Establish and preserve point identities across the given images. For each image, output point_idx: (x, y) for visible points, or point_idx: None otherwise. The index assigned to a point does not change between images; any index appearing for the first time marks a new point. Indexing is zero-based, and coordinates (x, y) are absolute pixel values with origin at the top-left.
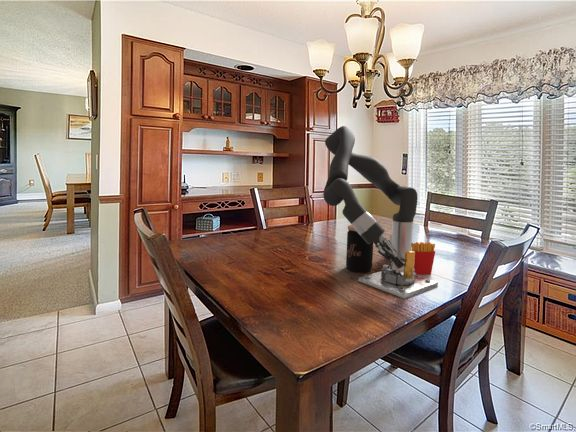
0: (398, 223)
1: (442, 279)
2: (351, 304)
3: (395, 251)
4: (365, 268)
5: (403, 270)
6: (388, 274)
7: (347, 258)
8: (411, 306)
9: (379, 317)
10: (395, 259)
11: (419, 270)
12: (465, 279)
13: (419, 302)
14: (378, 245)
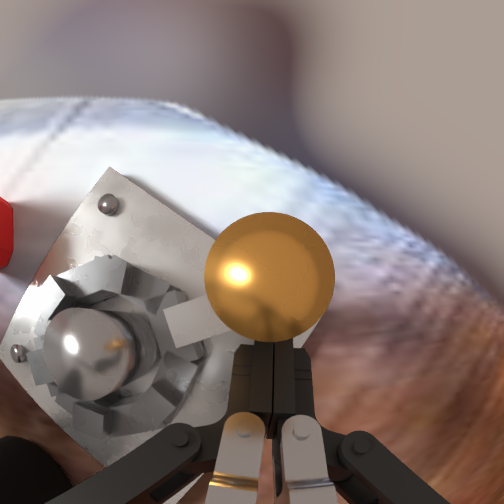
0: None
1: (46, 161)
2: (425, 472)
3: (194, 441)
4: (54, 473)
5: (121, 323)
6: (177, 408)
7: None
8: (385, 280)
9: (487, 369)
10: (312, 414)
11: (1, 240)
12: (46, 102)
13: (334, 249)
14: None
